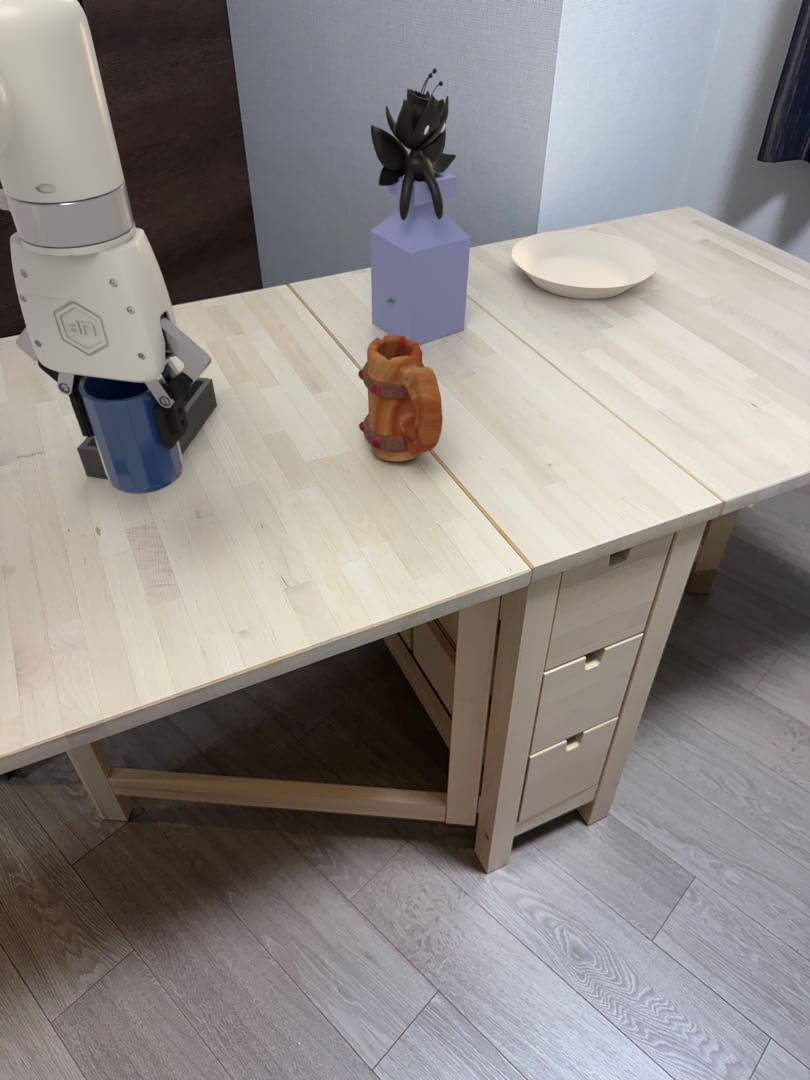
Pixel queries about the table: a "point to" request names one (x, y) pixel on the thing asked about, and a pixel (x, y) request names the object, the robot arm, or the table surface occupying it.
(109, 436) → the cup
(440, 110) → the vase
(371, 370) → the mug
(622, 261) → the bowl
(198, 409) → the holder
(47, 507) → the table surface
